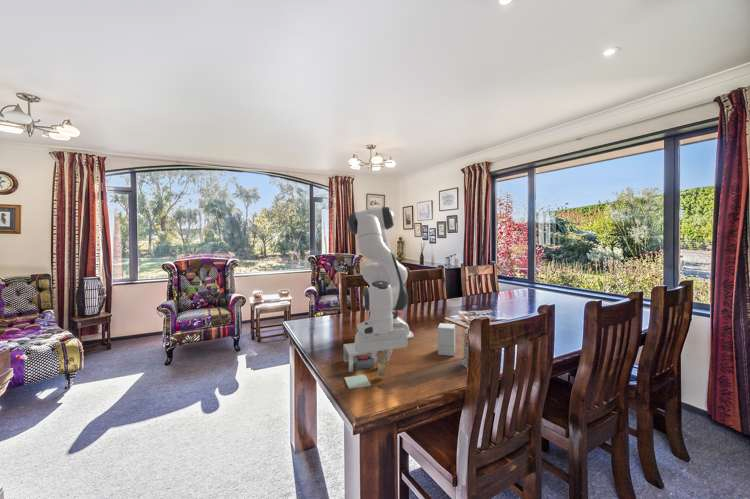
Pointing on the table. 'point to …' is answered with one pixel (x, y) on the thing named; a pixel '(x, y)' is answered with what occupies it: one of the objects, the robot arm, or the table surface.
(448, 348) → the supplement box
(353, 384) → the coaster
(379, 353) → the dowel
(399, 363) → the table surface
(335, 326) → the table surface
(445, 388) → the table surface
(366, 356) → the button
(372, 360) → the box
